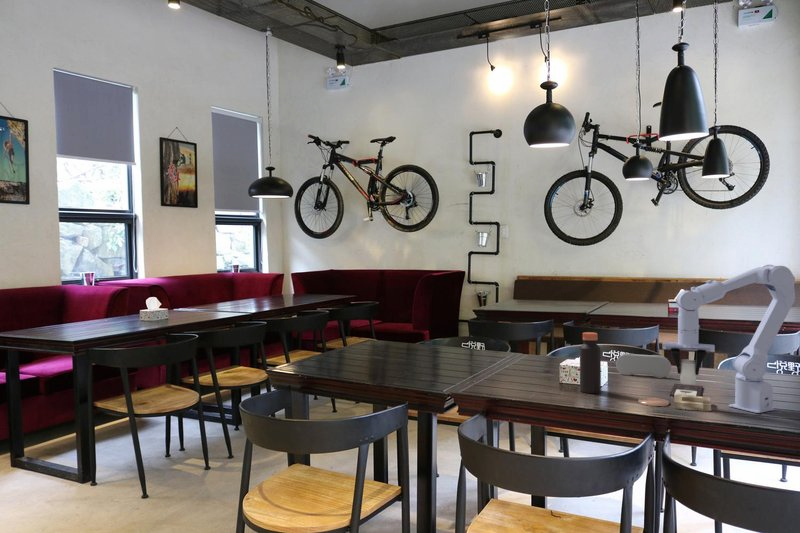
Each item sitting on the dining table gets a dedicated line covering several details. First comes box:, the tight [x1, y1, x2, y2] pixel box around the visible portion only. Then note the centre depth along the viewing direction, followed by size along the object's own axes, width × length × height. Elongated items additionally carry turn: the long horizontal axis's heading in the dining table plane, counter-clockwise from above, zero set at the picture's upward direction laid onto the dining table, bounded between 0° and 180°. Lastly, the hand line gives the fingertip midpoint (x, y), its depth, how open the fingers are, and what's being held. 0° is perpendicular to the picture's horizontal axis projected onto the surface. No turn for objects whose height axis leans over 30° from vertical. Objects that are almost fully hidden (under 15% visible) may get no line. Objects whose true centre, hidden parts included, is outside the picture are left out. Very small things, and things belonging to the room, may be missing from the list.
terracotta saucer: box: [637, 396, 670, 407], centre depth 195 cm, size 9×9×1 cm
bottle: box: [579, 331, 602, 394], centre depth 211 cm, size 7×7×20 cm
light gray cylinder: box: [679, 358, 697, 385], centre depth 191 cm, size 4×4×7 cm
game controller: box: [615, 352, 672, 379], centre depth 235 cm, size 20×2×8 cm, turn 63°
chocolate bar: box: [669, 383, 704, 398], centre depth 209 cm, size 9×1×18 cm
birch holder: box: [673, 395, 712, 412], centre depth 191 cm, size 10×10×2 cm
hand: (687, 373), depth 191 cm, fingers closed on light gray cylinder, 4 cm apart
